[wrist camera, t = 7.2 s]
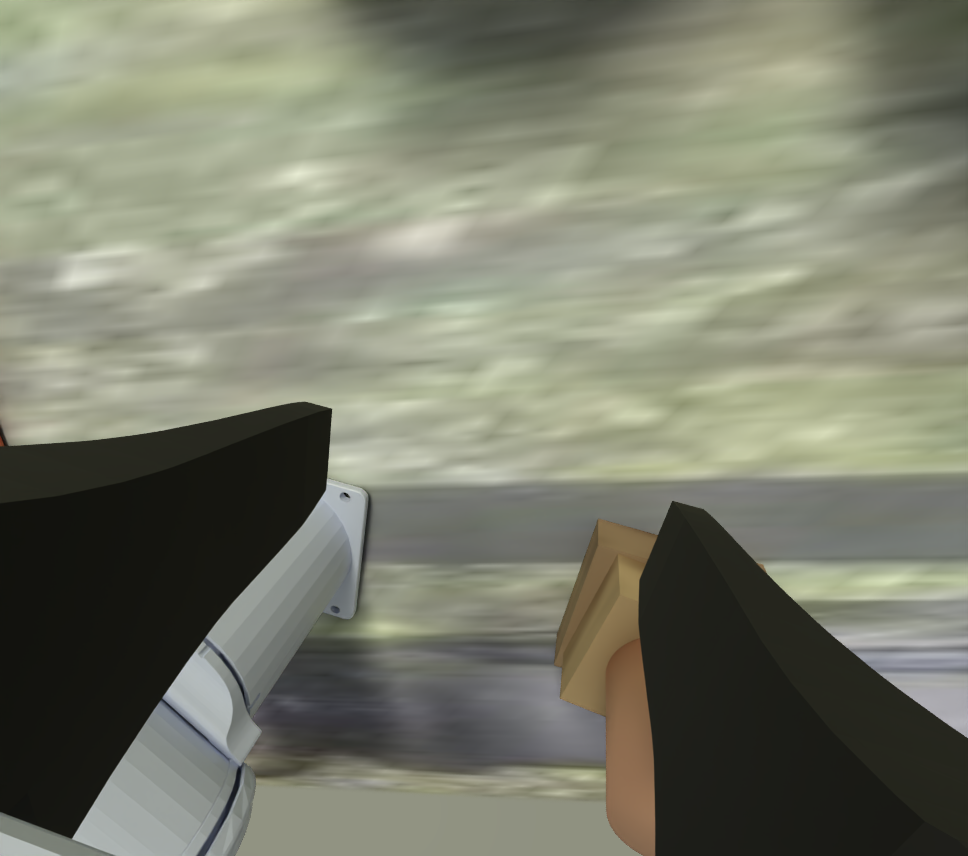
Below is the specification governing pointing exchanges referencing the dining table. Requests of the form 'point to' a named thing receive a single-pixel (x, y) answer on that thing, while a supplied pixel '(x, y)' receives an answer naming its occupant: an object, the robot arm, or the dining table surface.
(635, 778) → the terracotta cylinder
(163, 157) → the dining table surface
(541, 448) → the dining table surface
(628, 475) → the dining table surface
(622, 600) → the oak top block
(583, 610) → the tan square slab
